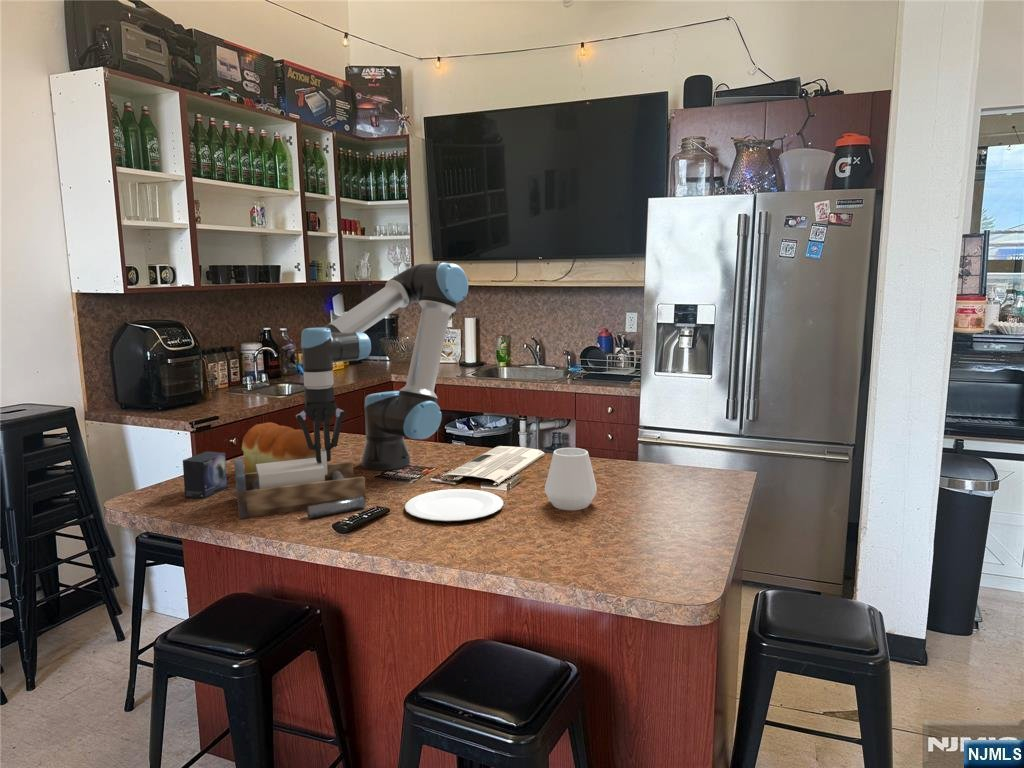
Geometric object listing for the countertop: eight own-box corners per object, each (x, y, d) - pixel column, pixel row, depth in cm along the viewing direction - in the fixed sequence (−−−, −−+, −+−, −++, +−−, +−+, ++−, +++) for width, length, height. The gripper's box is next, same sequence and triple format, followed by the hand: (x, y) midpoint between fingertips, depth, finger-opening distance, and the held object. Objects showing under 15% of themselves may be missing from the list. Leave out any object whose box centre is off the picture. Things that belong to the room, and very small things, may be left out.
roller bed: (353, 483, 198) (351, 447, 196) (365, 501, 181) (364, 462, 180) (237, 497, 186) (234, 460, 184) (239, 518, 169) (236, 477, 168)
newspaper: (495, 452, 234) (495, 444, 233) (549, 457, 226) (549, 449, 226) (442, 481, 200) (442, 472, 200) (503, 489, 193) (503, 479, 192)
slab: (318, 473, 190) (317, 457, 190) (325, 484, 179) (324, 467, 179) (257, 480, 184) (255, 464, 183) (260, 492, 173) (258, 475, 173)
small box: (205, 499, 185) (202, 461, 184) (183, 498, 186) (180, 460, 185) (228, 487, 195) (226, 451, 194) (208, 486, 197) (205, 450, 195)
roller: (361, 506, 178) (360, 494, 177) (365, 509, 175) (364, 497, 175) (306, 516, 170) (306, 504, 170) (310, 520, 167) (309, 508, 167)
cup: (601, 499, 181) (602, 447, 179) (590, 515, 169) (590, 459, 166) (552, 494, 185) (552, 443, 183) (538, 510, 173) (537, 456, 171)
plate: (386, 520, 168) (385, 513, 168) (432, 490, 191) (432, 484, 191) (480, 531, 159) (480, 524, 159) (517, 499, 183) (517, 493, 182)
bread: (325, 478, 204) (322, 429, 201) (286, 488, 194) (283, 437, 192) (280, 464, 220) (277, 419, 218) (243, 473, 211) (239, 425, 209)
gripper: (341, 383, 187) (346, 467, 191) (291, 386, 182) (297, 473, 186) (346, 386, 181) (351, 474, 184) (295, 390, 175) (300, 480, 179)
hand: (324, 473), depth 185 cm, fingers closed
